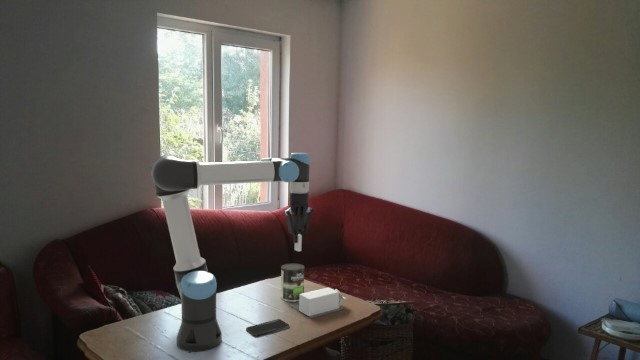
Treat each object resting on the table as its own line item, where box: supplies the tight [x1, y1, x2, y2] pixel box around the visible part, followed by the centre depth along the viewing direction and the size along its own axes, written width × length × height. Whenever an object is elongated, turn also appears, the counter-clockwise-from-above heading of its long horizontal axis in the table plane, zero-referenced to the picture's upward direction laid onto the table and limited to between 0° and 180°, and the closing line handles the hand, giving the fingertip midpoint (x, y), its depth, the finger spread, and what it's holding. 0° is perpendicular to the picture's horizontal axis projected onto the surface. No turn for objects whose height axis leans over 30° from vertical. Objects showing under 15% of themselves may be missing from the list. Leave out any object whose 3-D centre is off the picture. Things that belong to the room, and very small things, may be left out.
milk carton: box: [298, 287, 347, 317], centre depth 194 cm, size 7×7×19 cm
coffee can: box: [280, 262, 306, 303], centre depth 207 cm, size 10×10×14 cm
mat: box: [289, 301, 344, 319], centre depth 197 cm, size 16×16×1 cm
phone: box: [245, 318, 290, 338], centre depth 176 cm, size 8×1×15 cm
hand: (297, 250), depth 189 cm, fingers closed
